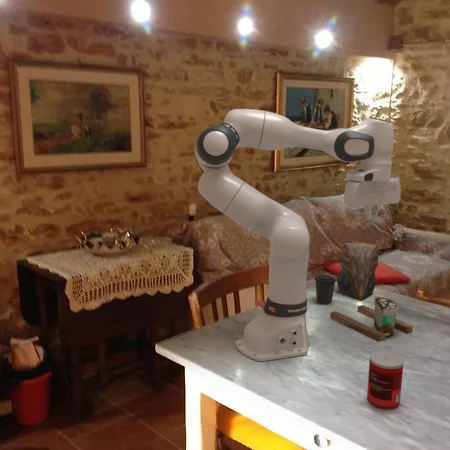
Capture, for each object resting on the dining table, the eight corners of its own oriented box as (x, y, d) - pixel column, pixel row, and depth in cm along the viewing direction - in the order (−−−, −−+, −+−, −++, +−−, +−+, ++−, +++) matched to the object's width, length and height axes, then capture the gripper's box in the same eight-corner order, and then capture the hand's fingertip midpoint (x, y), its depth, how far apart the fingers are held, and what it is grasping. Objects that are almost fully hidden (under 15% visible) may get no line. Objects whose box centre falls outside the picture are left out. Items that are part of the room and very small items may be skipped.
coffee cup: (322, 297, 198) (323, 271, 196) (339, 302, 192) (341, 276, 190) (308, 301, 193) (309, 275, 191) (325, 307, 187) (326, 281, 185)
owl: (334, 292, 203) (336, 242, 199) (355, 286, 211) (358, 238, 207) (360, 301, 194) (363, 249, 189) (381, 295, 201) (385, 244, 197)
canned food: (393, 392, 130) (396, 351, 127) (405, 409, 122) (408, 366, 120) (362, 392, 129) (365, 351, 127) (372, 410, 122) (375, 366, 119)
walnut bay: (378, 341, 159) (379, 335, 158) (330, 317, 177) (330, 312, 177) (412, 332, 166) (412, 326, 166) (362, 310, 185) (362, 304, 184)
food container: (401, 340, 160) (404, 310, 158) (381, 340, 160) (383, 309, 158) (391, 325, 172) (394, 296, 170) (373, 324, 172) (375, 295, 170)
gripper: (391, 171, 162) (387, 215, 165) (342, 173, 152) (338, 220, 155) (407, 173, 157) (403, 218, 160) (357, 176, 147) (353, 224, 150)
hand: (371, 219), depth 157 cm, fingers closed
